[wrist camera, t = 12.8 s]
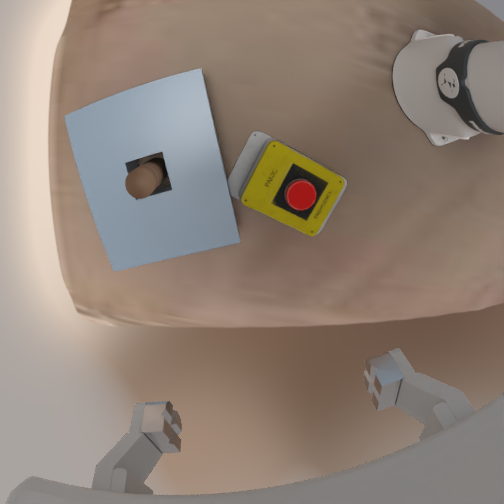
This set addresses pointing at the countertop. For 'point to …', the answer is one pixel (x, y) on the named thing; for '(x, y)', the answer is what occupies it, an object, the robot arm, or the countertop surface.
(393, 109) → the countertop surface
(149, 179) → the peg
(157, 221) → the socket block
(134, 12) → the countertop surface
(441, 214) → the countertop surface
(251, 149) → the emergency button
